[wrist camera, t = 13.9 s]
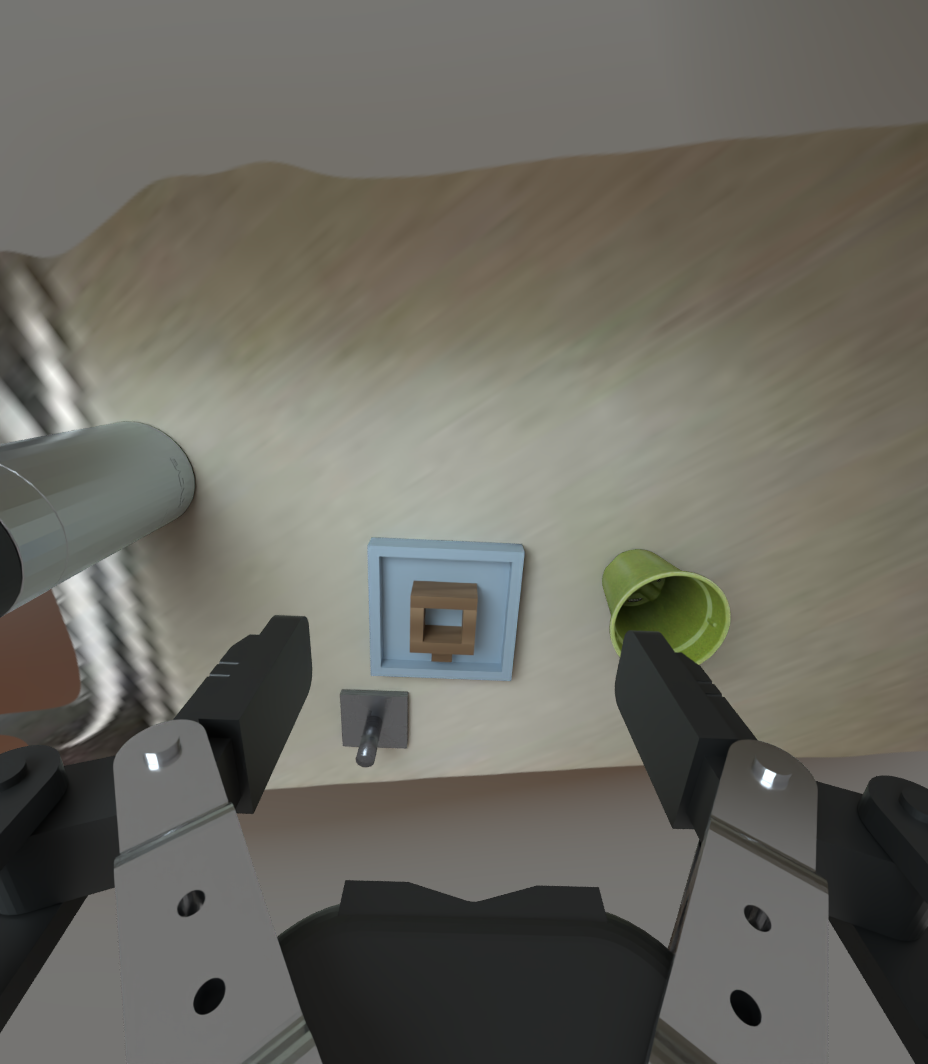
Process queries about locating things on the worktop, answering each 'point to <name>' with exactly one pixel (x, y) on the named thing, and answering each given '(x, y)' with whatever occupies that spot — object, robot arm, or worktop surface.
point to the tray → (443, 562)
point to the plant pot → (665, 604)
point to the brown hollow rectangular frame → (441, 637)
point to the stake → (373, 721)
